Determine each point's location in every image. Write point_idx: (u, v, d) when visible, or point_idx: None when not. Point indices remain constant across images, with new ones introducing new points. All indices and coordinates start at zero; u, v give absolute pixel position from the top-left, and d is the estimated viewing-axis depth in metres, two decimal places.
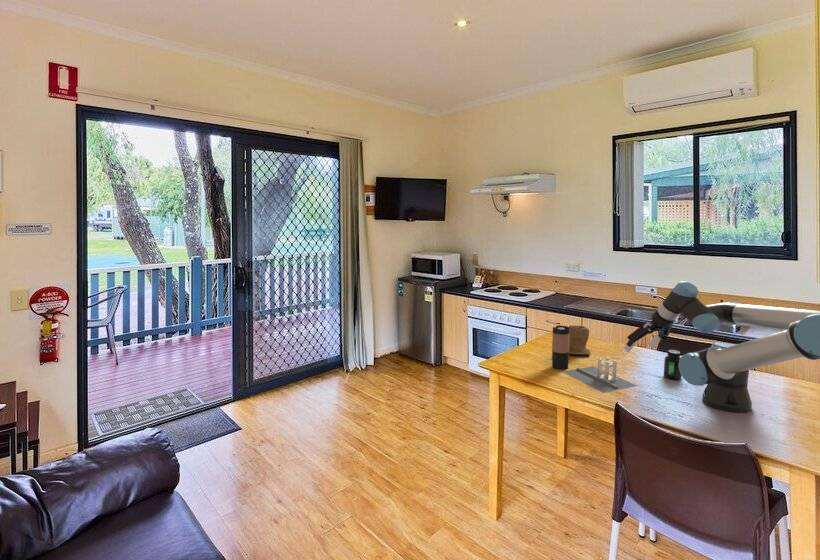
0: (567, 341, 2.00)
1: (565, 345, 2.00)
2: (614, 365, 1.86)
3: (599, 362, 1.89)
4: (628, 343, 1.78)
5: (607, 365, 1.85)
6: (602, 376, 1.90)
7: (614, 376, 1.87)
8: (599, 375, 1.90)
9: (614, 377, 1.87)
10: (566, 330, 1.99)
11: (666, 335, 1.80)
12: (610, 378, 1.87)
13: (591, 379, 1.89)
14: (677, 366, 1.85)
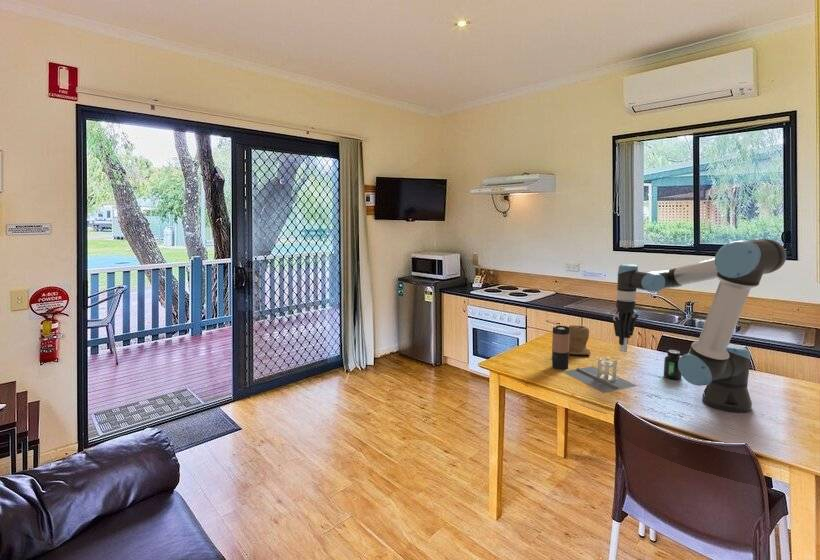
0: (567, 341, 2.00)
1: (565, 345, 2.00)
2: (614, 365, 1.86)
3: (599, 362, 1.89)
4: (620, 342, 1.89)
5: (607, 365, 1.85)
6: (602, 376, 1.90)
7: (614, 376, 1.87)
8: (599, 375, 1.90)
9: (614, 377, 1.87)
10: (566, 330, 1.99)
11: (631, 333, 1.89)
12: (610, 378, 1.87)
13: (591, 379, 1.89)
14: (677, 366, 1.85)
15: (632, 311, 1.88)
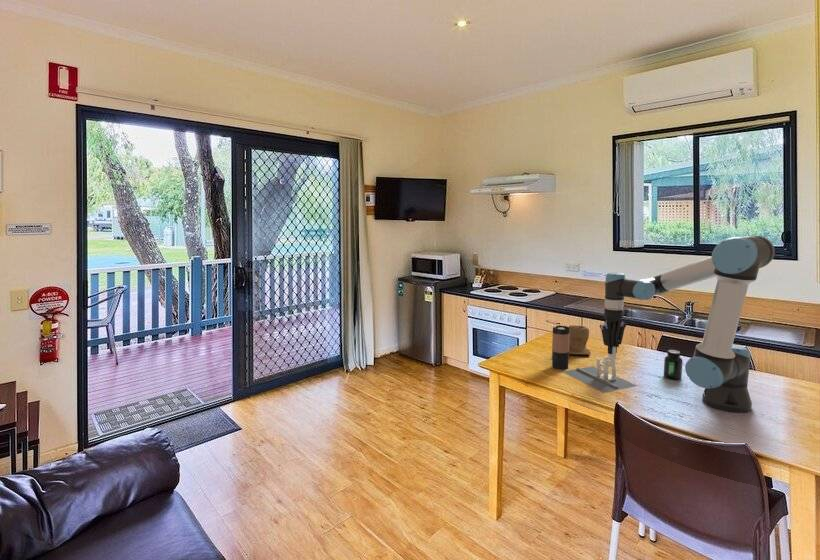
0: (567, 341, 2.00)
1: (565, 345, 2.00)
2: (613, 364, 1.86)
3: (598, 362, 1.89)
4: (608, 351, 1.88)
5: (606, 365, 1.85)
6: (602, 376, 1.90)
7: (614, 375, 1.87)
8: (599, 375, 1.90)
9: (614, 376, 1.87)
10: (566, 330, 1.99)
11: (619, 341, 1.87)
12: (610, 377, 1.87)
13: (591, 379, 1.89)
14: (677, 366, 1.85)
15: (620, 320, 1.86)
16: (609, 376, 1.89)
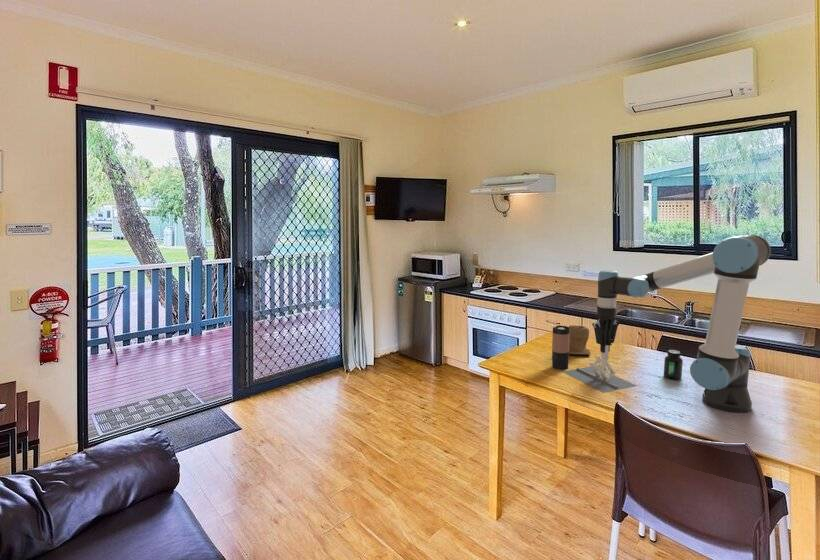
0: (567, 341, 2.00)
1: (565, 345, 2.00)
2: (606, 363, 1.85)
3: (591, 366, 1.88)
4: (601, 349, 1.86)
5: (599, 369, 1.84)
6: (601, 374, 1.90)
7: (611, 371, 1.86)
8: (598, 375, 1.89)
9: (612, 372, 1.86)
10: (566, 330, 1.99)
11: (612, 340, 1.86)
12: (609, 374, 1.87)
13: (591, 379, 1.89)
14: (677, 366, 1.85)
15: (613, 318, 1.85)
16: (607, 373, 1.88)
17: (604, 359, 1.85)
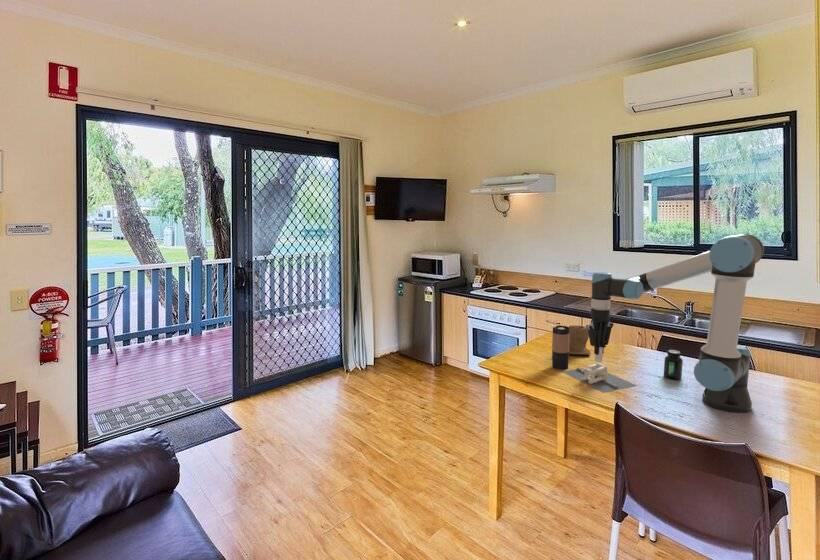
0: (567, 341, 2.00)
1: (565, 345, 2.00)
2: (593, 374, 1.83)
3: (586, 379, 1.88)
4: (595, 351, 1.85)
5: (593, 382, 1.84)
6: (598, 372, 1.89)
7: (603, 370, 1.84)
8: (597, 375, 1.89)
9: (604, 369, 1.85)
10: (566, 330, 1.99)
11: (606, 342, 1.85)
12: (603, 371, 1.86)
13: None
14: (677, 366, 1.85)
15: (607, 320, 1.84)
16: None
17: (589, 373, 1.83)
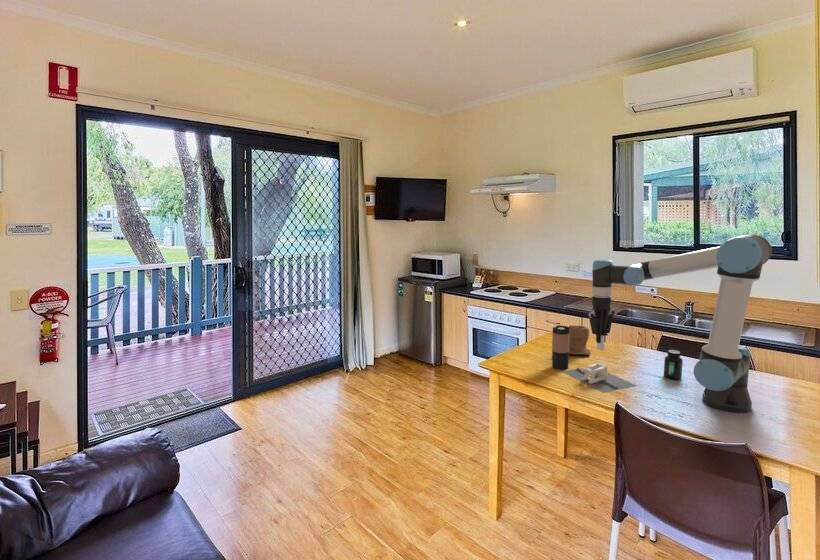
0: (567, 341, 2.00)
1: (565, 345, 2.00)
2: (593, 374, 1.83)
3: (586, 379, 1.88)
4: (597, 340, 1.84)
5: (593, 382, 1.84)
6: (598, 372, 1.89)
7: (603, 370, 1.84)
8: (597, 375, 1.89)
9: (604, 369, 1.85)
10: (566, 330, 1.99)
11: (608, 330, 1.84)
12: (603, 371, 1.86)
13: None
14: (677, 366, 1.85)
15: (608, 308, 1.83)
16: None
17: (589, 373, 1.83)
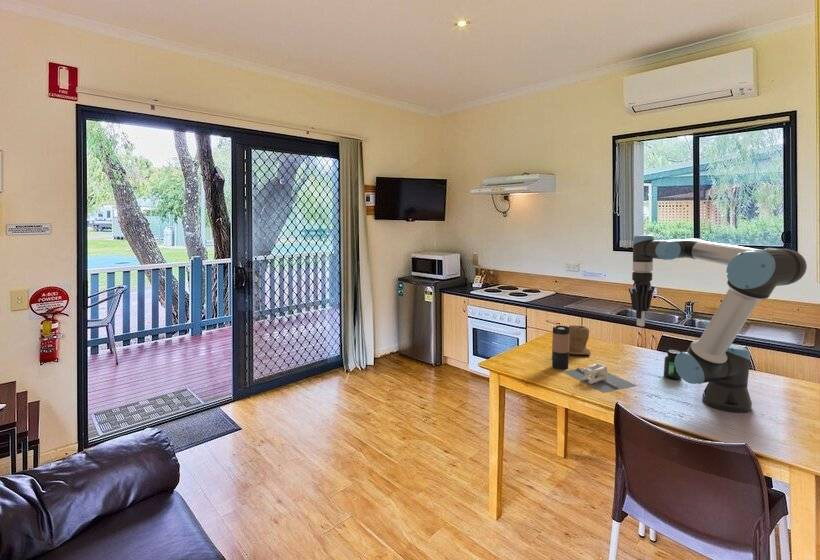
0: (567, 341, 2.00)
1: (565, 345, 2.00)
2: (593, 374, 1.83)
3: (586, 379, 1.88)
4: (637, 315, 1.84)
5: (593, 382, 1.84)
6: (598, 372, 1.89)
7: (603, 370, 1.84)
8: (597, 375, 1.89)
9: (604, 369, 1.85)
10: (566, 330, 1.99)
11: (648, 306, 1.84)
12: (603, 371, 1.86)
13: None
14: None
15: (649, 283, 1.83)
16: None
17: (589, 373, 1.83)
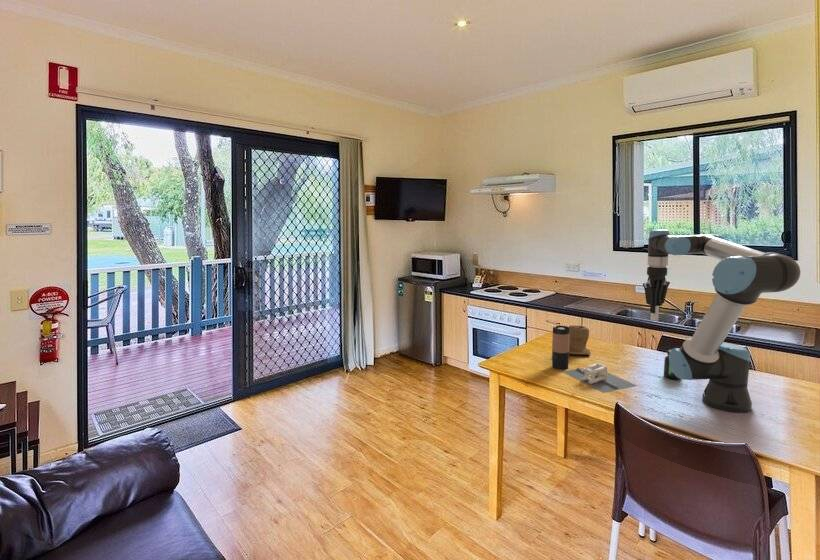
0: (567, 341, 2.00)
1: (565, 345, 2.00)
2: (593, 374, 1.83)
3: (586, 379, 1.88)
4: (651, 310, 1.84)
5: (593, 382, 1.84)
6: (598, 372, 1.89)
7: (603, 370, 1.84)
8: (597, 375, 1.89)
9: (604, 369, 1.85)
10: (566, 330, 1.99)
11: (662, 300, 1.84)
12: (603, 371, 1.86)
13: None
14: None
15: (663, 278, 1.83)
16: None
17: (589, 373, 1.83)
